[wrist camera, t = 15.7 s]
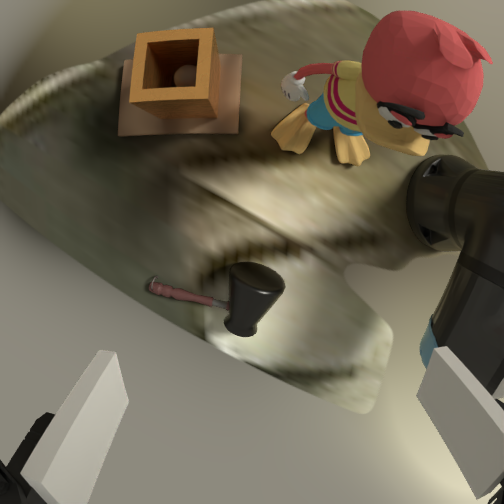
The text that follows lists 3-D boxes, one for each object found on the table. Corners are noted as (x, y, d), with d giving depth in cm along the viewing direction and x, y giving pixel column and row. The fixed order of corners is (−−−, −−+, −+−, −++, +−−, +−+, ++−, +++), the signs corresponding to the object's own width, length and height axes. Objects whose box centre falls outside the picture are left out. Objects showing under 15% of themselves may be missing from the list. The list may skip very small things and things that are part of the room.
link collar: (220, 65, 34) (213, 28, 23) (217, 118, 36) (208, 98, 25) (164, 66, 34) (137, 33, 22) (160, 119, 36) (129, 102, 24)
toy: (265, 148, 39) (331, 108, 10) (277, 77, 36) (348, -66, 7) (368, 170, 40) (547, 198, 11) (378, 103, 37) (547, 54, 9)
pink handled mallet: (287, 271, 43) (268, 318, 47) (168, 230, 44) (158, 279, 47) (285, 299, 36) (262, 349, 40) (145, 250, 37) (138, 304, 40)
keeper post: (242, 58, 35) (242, 28, 26) (238, 134, 38) (237, 125, 29) (128, 63, 34) (99, 40, 25) (121, 136, 37) (89, 130, 28)
